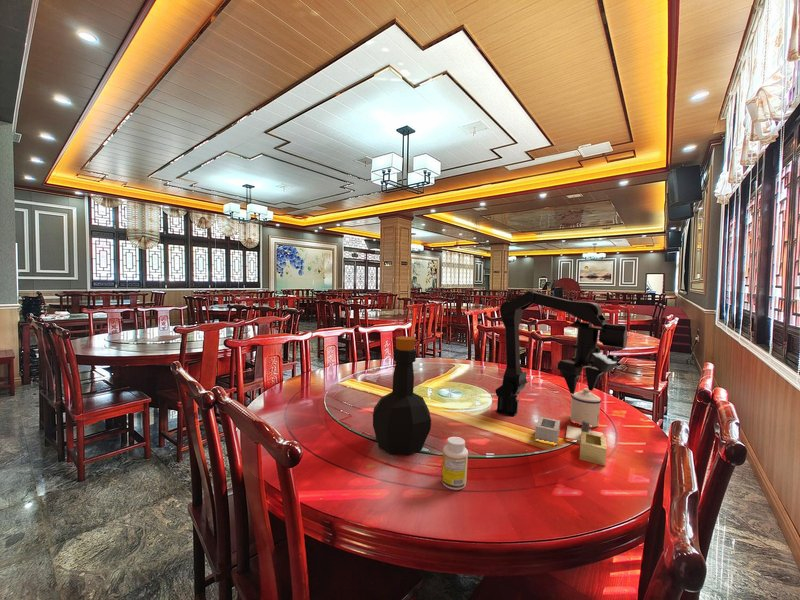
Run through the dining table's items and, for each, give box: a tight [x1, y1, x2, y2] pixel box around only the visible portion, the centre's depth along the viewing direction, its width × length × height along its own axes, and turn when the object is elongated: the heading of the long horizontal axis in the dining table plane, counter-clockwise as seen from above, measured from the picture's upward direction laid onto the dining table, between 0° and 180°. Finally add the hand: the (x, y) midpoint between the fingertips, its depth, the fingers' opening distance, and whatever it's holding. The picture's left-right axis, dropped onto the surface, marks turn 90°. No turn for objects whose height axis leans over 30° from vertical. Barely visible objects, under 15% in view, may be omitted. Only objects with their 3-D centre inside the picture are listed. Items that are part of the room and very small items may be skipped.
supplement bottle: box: [441, 436, 469, 491], centre depth 82 cm, size 6×6×10 cm
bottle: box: [372, 335, 432, 456], centre depth 99 cm, size 16×16×30 cm
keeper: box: [565, 421, 604, 445], centre depth 110 cm, size 10×10×5 cm
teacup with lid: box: [569, 387, 602, 428], centre depth 125 cm, size 12×9×12 cm
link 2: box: [579, 431, 608, 466], centre depth 100 cm, size 9×6×4 cm, turn 152°
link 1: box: [534, 416, 561, 444], centre depth 110 cm, size 9×6×4 cm, turn 152°
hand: (581, 392), depth 114 cm, fingers open, 9 cm apart
